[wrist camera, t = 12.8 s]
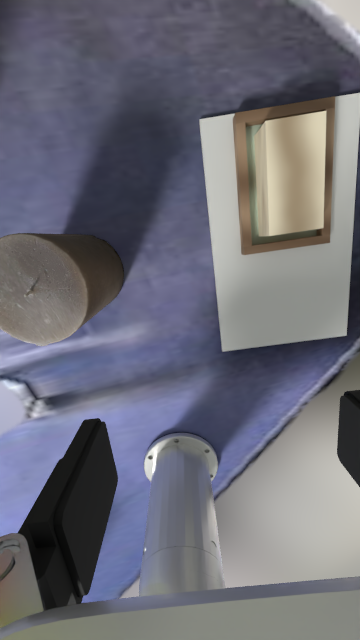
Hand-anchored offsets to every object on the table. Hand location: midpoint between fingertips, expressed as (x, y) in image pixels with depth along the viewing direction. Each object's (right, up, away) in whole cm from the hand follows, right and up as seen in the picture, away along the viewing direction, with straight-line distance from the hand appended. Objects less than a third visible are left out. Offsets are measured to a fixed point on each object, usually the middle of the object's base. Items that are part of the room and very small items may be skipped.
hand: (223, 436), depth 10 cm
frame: (+11, +21, +21) cm, 32 cm away
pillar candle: (-14, +11, +25) cm, 31 cm away
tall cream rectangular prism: (+11, +21, +21) cm, 31 cm away
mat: (+11, +15, +23) cm, 30 cm away
